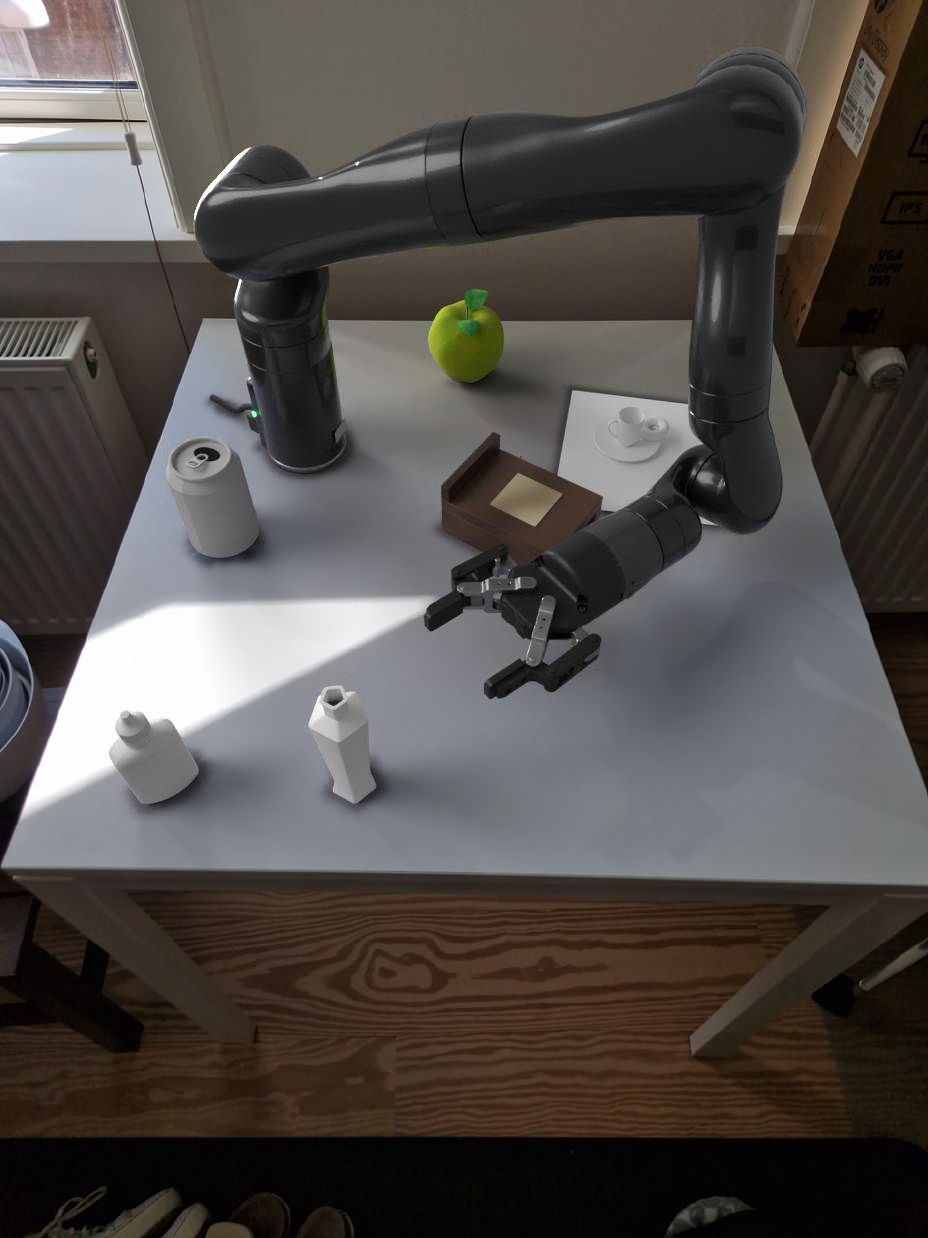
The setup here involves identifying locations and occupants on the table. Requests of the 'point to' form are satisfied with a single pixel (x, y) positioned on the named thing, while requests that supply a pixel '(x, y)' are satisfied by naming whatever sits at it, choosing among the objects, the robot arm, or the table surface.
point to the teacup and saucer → (622, 445)
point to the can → (212, 496)
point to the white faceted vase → (343, 741)
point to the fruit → (467, 338)
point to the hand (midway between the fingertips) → (455, 656)
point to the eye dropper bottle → (151, 757)
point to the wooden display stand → (513, 504)
